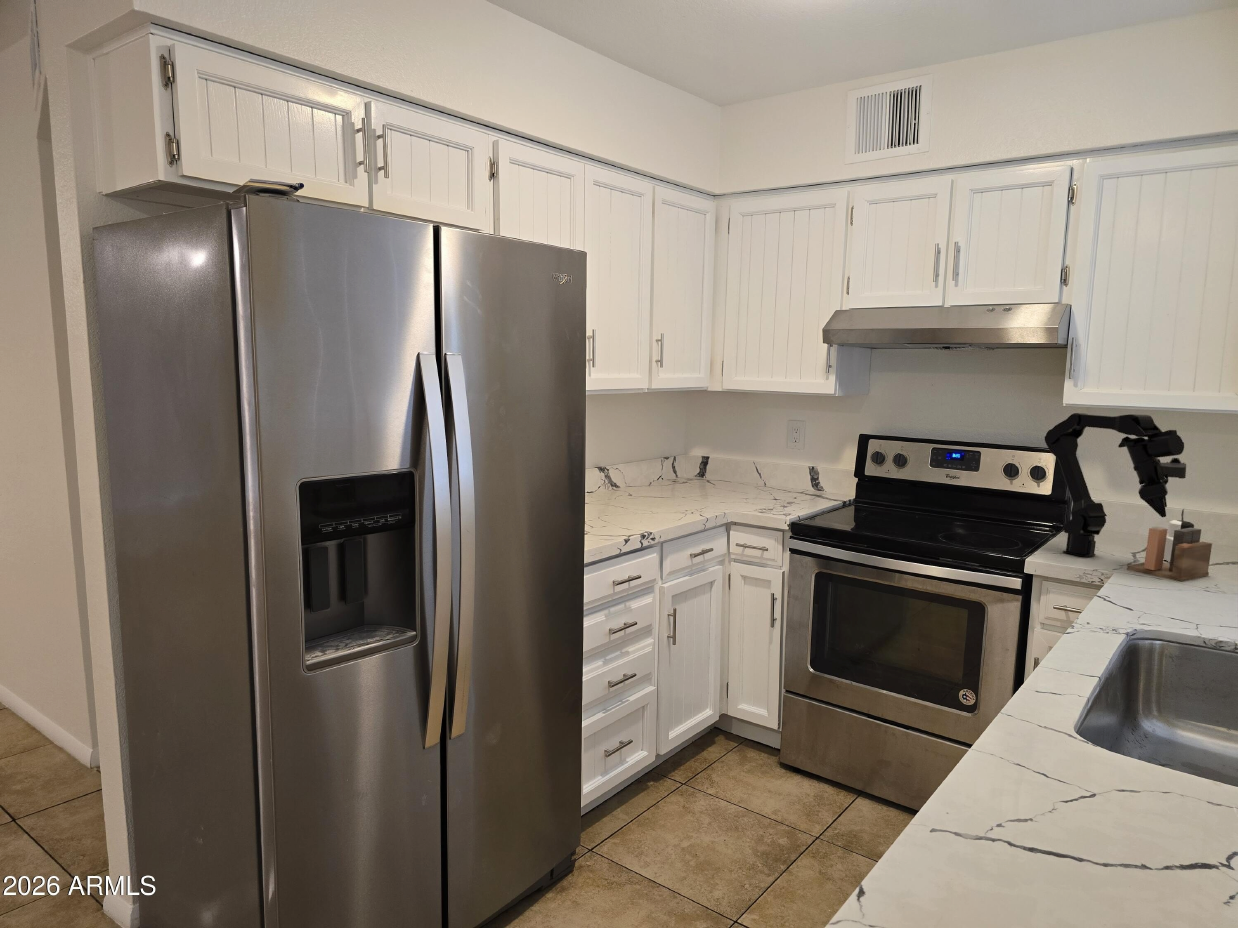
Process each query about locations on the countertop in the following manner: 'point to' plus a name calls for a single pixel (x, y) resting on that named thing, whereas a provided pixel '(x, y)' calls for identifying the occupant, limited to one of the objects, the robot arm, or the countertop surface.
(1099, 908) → the countertop surface
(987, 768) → the countertop surface
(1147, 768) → the countertop surface
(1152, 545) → the orange rectangular block
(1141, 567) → the brown wooden book holder
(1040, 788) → the countertop surface
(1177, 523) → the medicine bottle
